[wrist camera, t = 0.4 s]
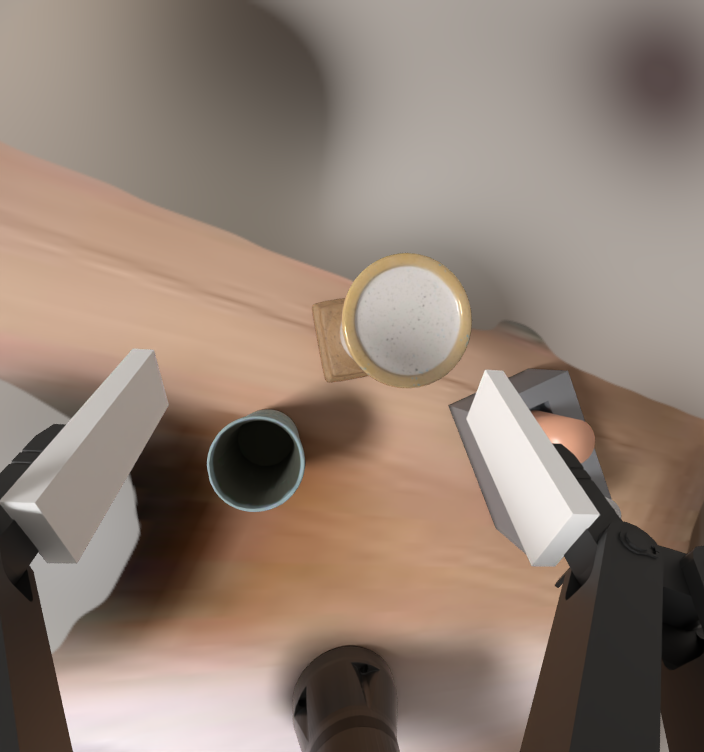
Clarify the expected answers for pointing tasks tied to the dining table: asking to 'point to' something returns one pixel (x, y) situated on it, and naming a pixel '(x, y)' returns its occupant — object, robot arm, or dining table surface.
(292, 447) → the drinking glass
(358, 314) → the candle holder
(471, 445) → the block with square holes
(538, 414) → the brown egg
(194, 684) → the dining table surface
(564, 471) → the robot arm
